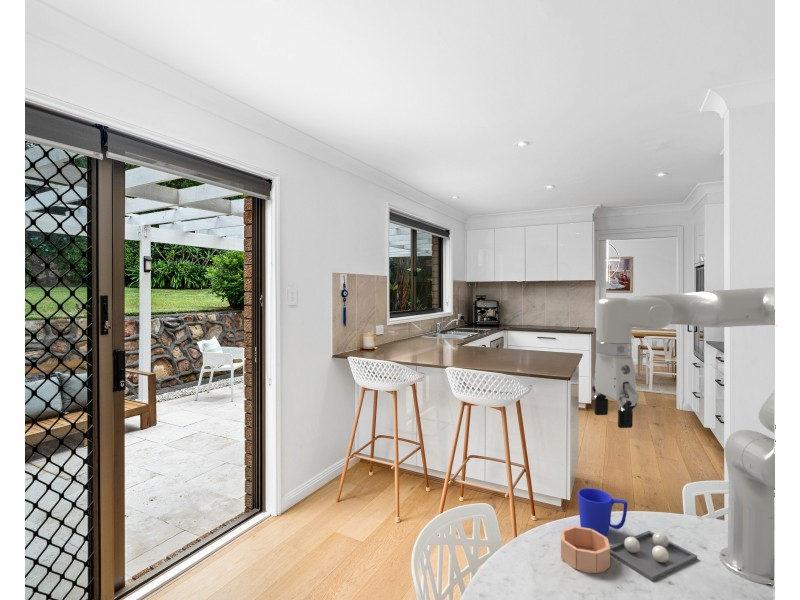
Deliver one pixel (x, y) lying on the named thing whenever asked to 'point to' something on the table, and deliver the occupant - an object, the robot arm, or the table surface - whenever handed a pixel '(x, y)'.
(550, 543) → the table surface
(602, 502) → the mug
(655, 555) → the white ball
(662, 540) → the white ball
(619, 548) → the tray
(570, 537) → the bowl
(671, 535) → the table surface
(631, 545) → the white ball
